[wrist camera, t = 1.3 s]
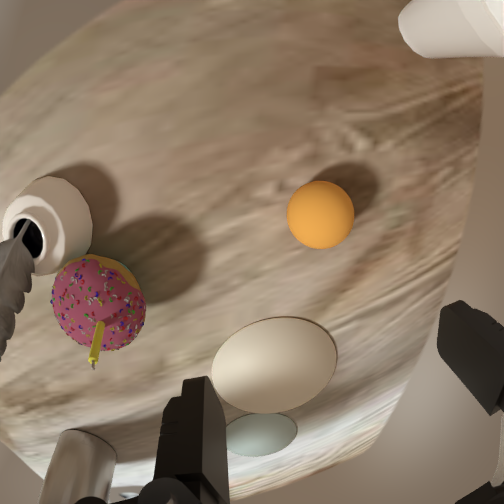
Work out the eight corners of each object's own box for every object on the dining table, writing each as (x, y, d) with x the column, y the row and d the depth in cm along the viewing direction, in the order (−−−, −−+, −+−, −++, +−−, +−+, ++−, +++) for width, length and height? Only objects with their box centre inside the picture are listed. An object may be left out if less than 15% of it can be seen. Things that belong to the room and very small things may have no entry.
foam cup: (464, 67, 24) (551, 56, 12) (408, 79, 25) (505, 60, 12) (431, -7, 21) (508, -40, 9) (370, -4, 21) (446, -58, 9)
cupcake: (161, 252, 27) (130, 323, 16) (148, 330, 30) (124, 419, 19) (75, 231, 26) (5, 284, 15) (70, 309, 28) (19, 384, 17)
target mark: (278, 425, 36) (278, 426, 36) (186, 381, 32) (186, 382, 32) (358, 354, 34) (359, 355, 34) (270, 291, 30) (271, 292, 30)
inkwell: (107, 197, 25) (56, 225, 16) (67, 348, 30) (33, 409, 20) (28, 162, 23) (-39, 175, 14) (3, 314, 27) (-41, 362, 18)
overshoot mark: (262, 461, 39) (262, 462, 39) (206, 441, 36) (206, 442, 36) (311, 426, 37) (311, 427, 37) (255, 402, 35) (255, 403, 34)
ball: (311, 249, 29) (332, 272, 24) (267, 212, 27) (280, 228, 22) (350, 204, 28) (378, 218, 23) (308, 164, 26) (330, 169, 21)
